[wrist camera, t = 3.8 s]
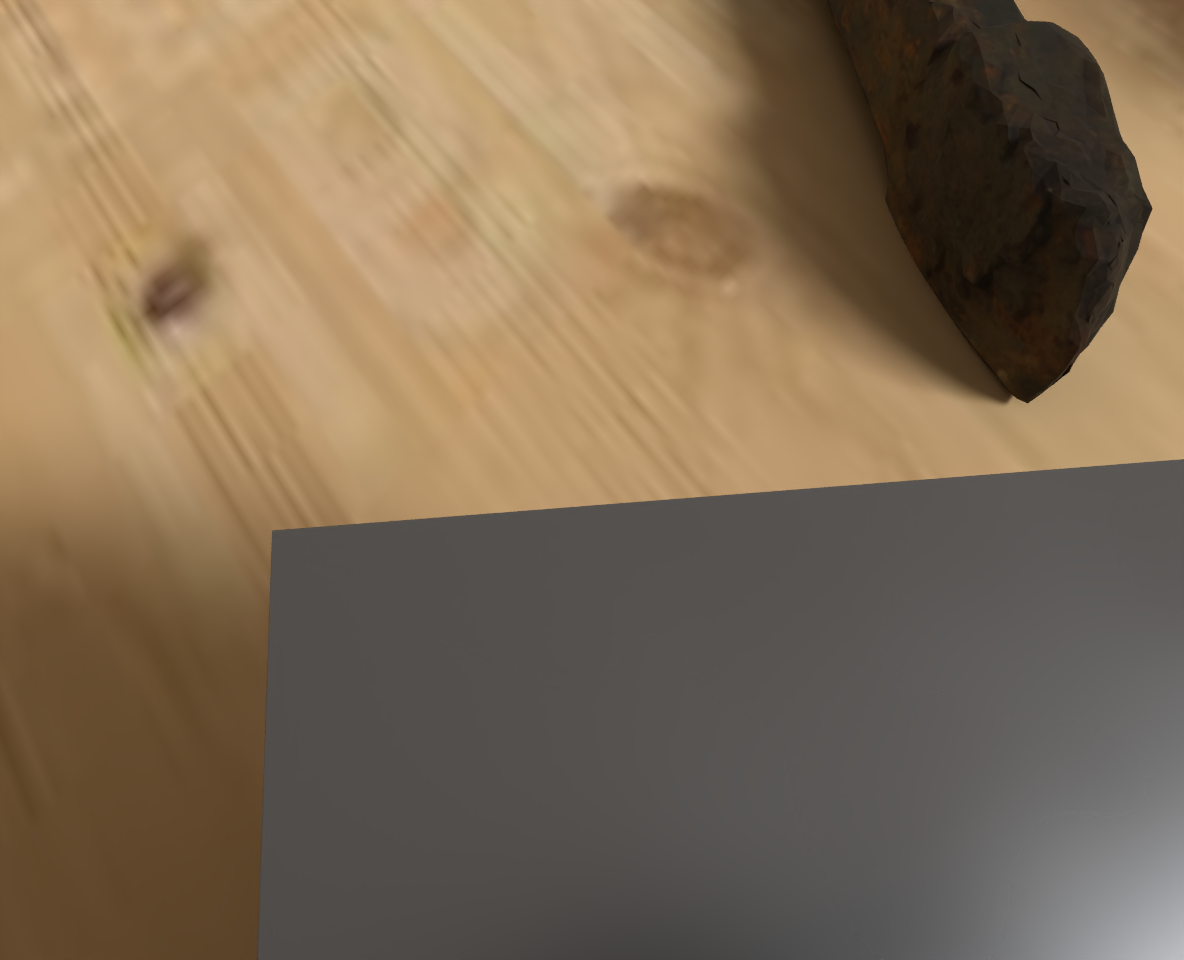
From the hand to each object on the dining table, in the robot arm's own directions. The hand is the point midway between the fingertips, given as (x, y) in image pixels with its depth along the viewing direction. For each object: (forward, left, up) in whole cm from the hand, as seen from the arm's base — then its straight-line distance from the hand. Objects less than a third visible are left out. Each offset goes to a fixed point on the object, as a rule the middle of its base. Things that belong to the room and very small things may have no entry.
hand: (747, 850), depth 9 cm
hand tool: (+19, -3, -7) cm, 20 cm away
